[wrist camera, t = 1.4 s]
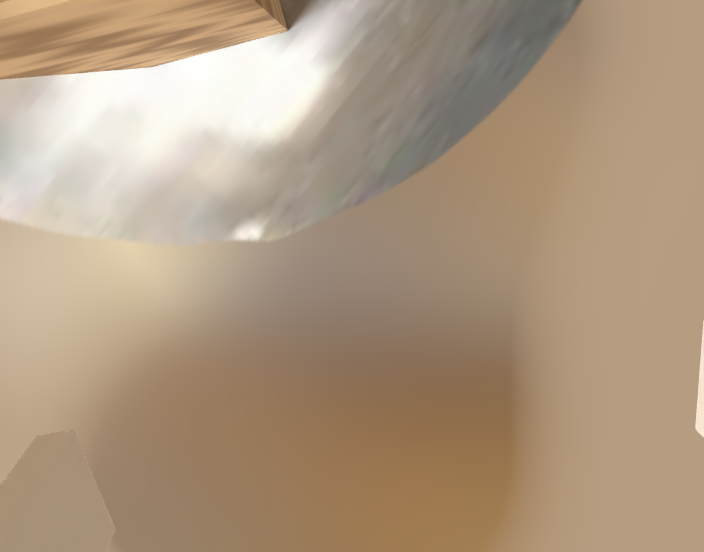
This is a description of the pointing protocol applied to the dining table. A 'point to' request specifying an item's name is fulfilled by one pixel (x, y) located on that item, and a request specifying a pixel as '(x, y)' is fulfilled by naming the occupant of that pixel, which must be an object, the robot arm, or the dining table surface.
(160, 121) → the dining table surface
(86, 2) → the tall wooden crate
